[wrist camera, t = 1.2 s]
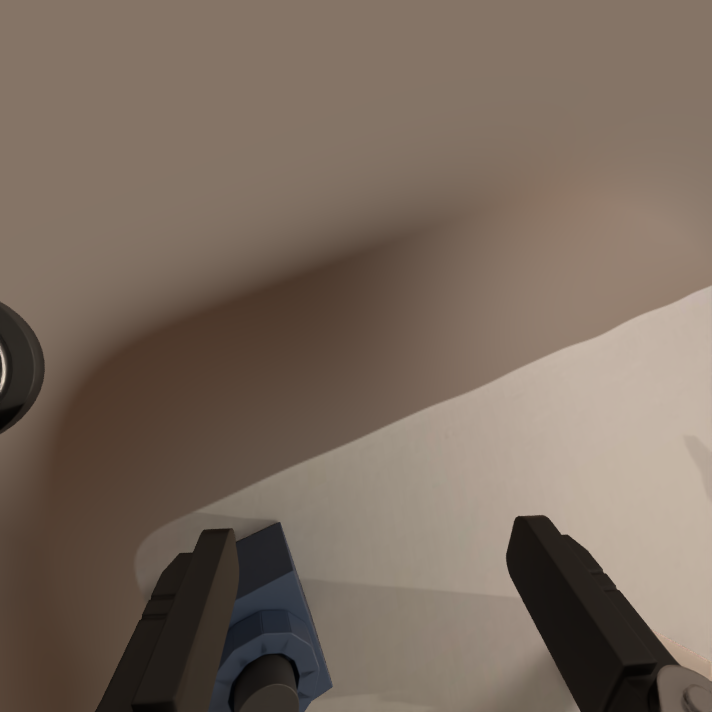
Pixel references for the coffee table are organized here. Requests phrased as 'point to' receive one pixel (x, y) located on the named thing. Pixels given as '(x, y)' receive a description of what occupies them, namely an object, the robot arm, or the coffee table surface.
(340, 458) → the coffee table surface
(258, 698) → the dark grey round cap
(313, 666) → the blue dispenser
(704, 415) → the coffee table surface
